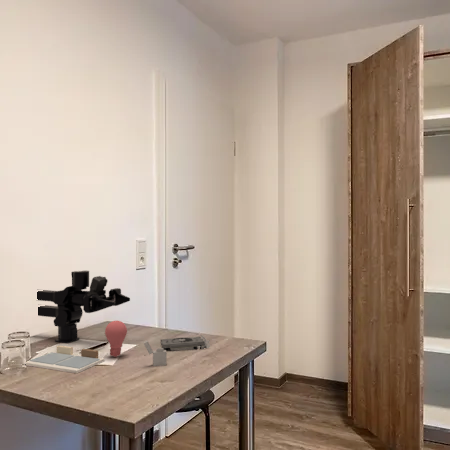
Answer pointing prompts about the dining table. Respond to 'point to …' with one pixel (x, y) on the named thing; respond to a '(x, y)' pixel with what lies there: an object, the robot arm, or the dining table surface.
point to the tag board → (67, 360)
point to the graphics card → (185, 343)
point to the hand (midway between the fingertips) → (122, 301)
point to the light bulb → (115, 336)
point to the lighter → (156, 355)
